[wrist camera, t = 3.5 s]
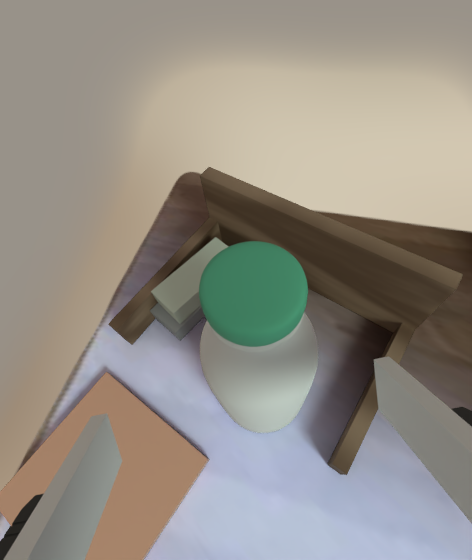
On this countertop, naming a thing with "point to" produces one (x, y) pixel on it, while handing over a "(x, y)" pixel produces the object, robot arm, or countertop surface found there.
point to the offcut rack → (314, 276)
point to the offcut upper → (186, 283)
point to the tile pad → (131, 476)
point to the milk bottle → (257, 334)
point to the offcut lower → (172, 324)
